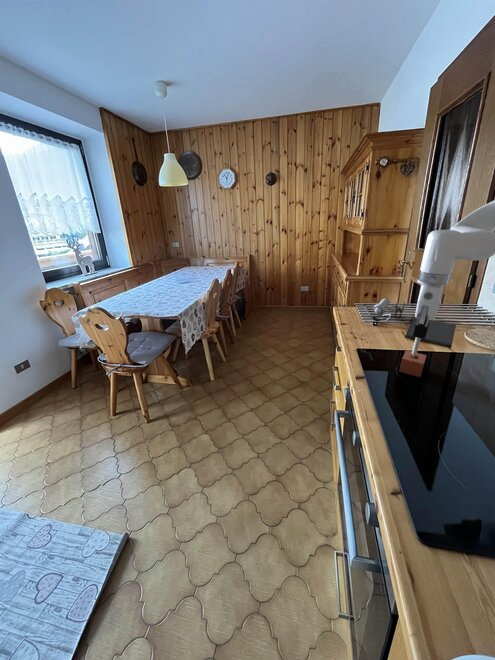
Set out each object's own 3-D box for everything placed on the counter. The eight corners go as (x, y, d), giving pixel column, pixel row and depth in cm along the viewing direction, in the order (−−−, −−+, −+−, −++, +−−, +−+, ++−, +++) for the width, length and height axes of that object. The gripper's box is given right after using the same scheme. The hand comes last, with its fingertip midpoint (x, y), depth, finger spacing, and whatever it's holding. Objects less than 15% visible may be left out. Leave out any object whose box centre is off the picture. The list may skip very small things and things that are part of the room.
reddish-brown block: (423, 368, 92) (426, 355, 90) (420, 377, 88) (423, 364, 86) (403, 362, 96) (405, 350, 93) (399, 371, 91) (402, 358, 89)
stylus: (416, 356, 90) (425, 319, 84) (415, 358, 89) (425, 320, 83) (411, 354, 90) (420, 318, 85) (410, 356, 90) (420, 319, 84)
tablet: (457, 327, 116) (458, 324, 115) (453, 348, 102) (454, 345, 101) (413, 319, 125) (414, 316, 124) (404, 337, 111) (405, 335, 110)
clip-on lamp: (390, 332, 121) (406, 310, 131) (393, 320, 117) (409, 299, 127) (364, 322, 128) (380, 303, 137) (365, 311, 124) (382, 292, 133)
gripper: (447, 287, 70) (429, 350, 79) (452, 272, 81) (436, 329, 90) (413, 283, 75) (400, 343, 83) (423, 269, 85) (410, 323, 94)
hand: (419, 335), depth 86 cm, fingers closed on stylus, 1 cm apart
